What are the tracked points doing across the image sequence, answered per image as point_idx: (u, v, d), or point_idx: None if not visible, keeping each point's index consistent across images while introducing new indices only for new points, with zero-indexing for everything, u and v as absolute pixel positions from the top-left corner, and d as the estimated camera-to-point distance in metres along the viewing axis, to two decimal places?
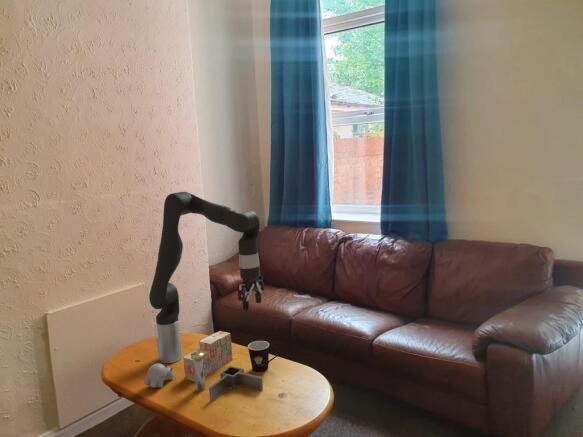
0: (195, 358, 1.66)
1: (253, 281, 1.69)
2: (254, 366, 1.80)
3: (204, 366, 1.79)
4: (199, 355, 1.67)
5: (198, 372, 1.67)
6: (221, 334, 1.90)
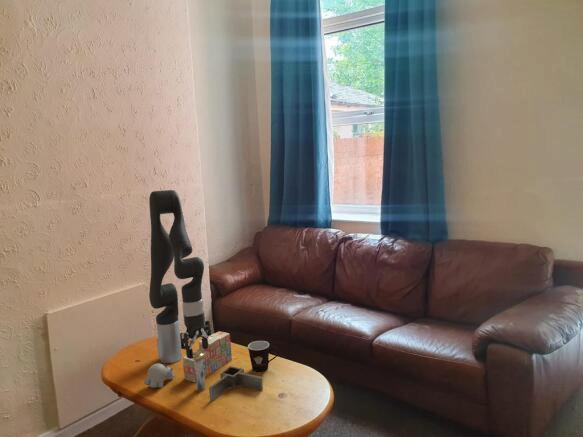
0: (195, 358, 1.66)
1: (198, 328, 1.66)
2: (254, 366, 1.80)
3: (204, 367, 1.79)
4: (199, 355, 1.67)
5: (198, 372, 1.67)
6: (220, 334, 1.90)
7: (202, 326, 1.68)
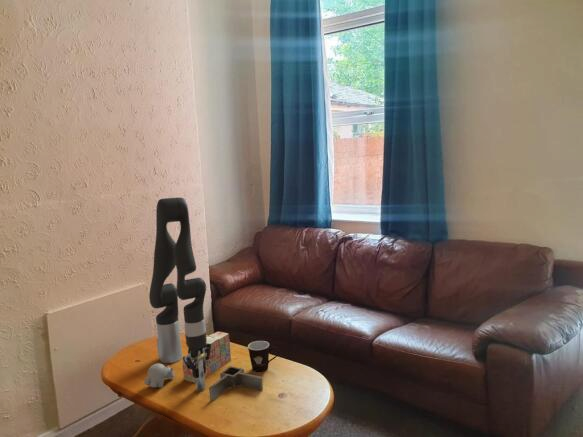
0: (195, 358, 1.66)
1: (199, 348, 1.67)
2: (254, 366, 1.80)
3: None
4: None
5: None
6: (220, 334, 1.89)
7: (204, 345, 1.69)
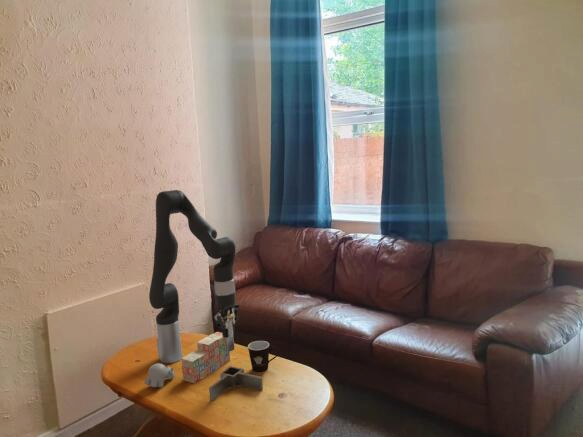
0: (225, 317, 1.66)
1: (229, 307, 1.68)
2: (254, 366, 1.80)
3: (202, 368, 1.78)
4: (229, 315, 1.67)
5: (228, 332, 1.68)
6: (219, 335, 1.89)
7: (233, 305, 1.70)
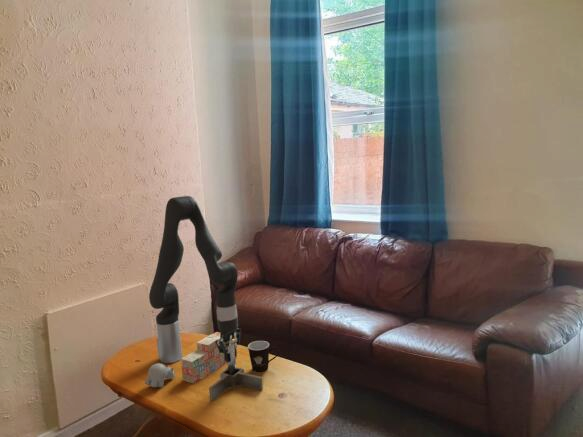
0: (227, 342, 1.68)
1: (231, 332, 1.69)
2: (254, 366, 1.80)
3: (202, 368, 1.78)
4: (231, 339, 1.69)
5: None
6: (218, 335, 1.89)
7: (235, 330, 1.71)
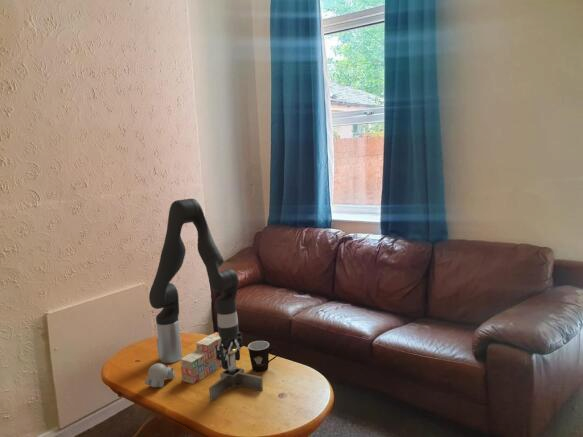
0: None
1: (231, 339, 1.70)
2: (254, 366, 1.80)
3: (202, 368, 1.78)
4: (232, 350, 1.69)
5: (231, 367, 1.70)
6: (218, 335, 1.89)
7: (235, 337, 1.72)
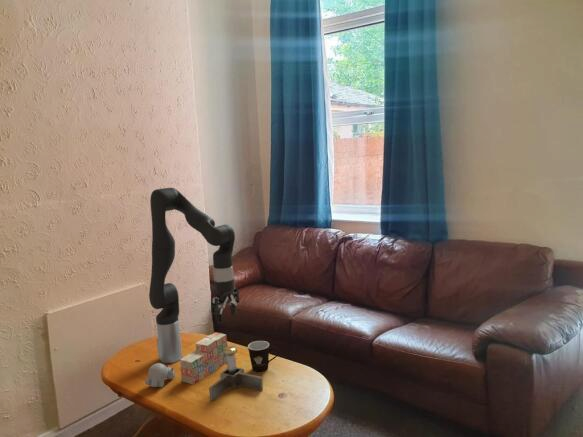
0: (228, 353, 1.68)
1: (227, 294, 1.71)
2: (254, 366, 1.80)
3: (201, 368, 1.77)
4: (232, 350, 1.69)
5: (231, 367, 1.70)
6: (217, 335, 1.89)
7: (231, 293, 1.73)
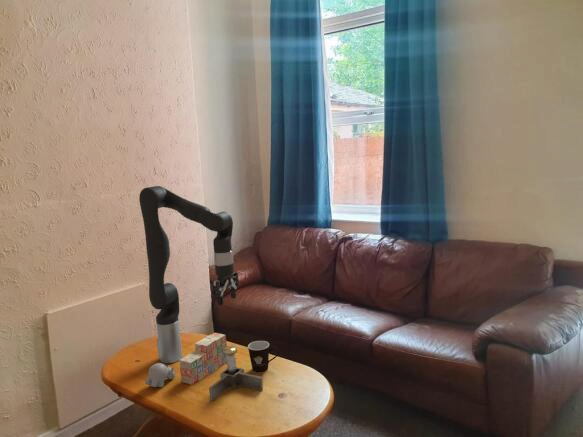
0: (228, 353, 1.68)
1: (227, 277, 1.80)
2: (254, 366, 1.80)
3: (201, 369, 1.77)
4: (232, 350, 1.69)
5: (231, 367, 1.70)
6: (216, 336, 1.88)
7: (231, 276, 1.82)
